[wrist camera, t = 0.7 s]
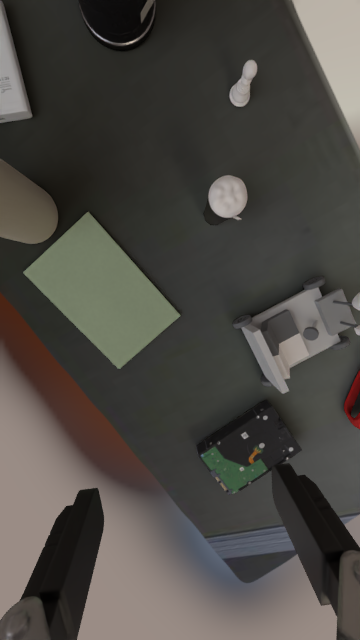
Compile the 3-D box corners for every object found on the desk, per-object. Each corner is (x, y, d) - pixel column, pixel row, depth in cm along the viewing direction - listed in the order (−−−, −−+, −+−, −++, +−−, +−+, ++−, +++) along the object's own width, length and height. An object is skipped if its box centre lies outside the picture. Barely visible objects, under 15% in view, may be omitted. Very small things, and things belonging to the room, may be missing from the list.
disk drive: (264, 396, 42) (194, 445, 43) (271, 404, 39) (196, 457, 40) (294, 439, 44) (226, 486, 44) (303, 450, 41) (231, 499, 42)
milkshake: (205, 239, 37) (220, 226, 27) (195, 203, 36) (206, 175, 26) (234, 230, 37) (259, 213, 27) (224, 193, 36) (247, 162, 26)
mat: (24, 272, 36) (22, 272, 36) (89, 212, 35) (88, 211, 35) (119, 368, 40) (118, 369, 39) (180, 315, 39) (180, 315, 38)
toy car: (385, 265, 29) (414, 347, 31) (330, 268, 39) (355, 330, 41) (251, 336, 30) (288, 412, 32) (229, 322, 39) (259, 381, 41)
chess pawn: (225, 101, 34) (236, 71, 29) (234, 80, 34) (246, 46, 29) (243, 111, 34) (256, 83, 29) (252, 90, 34) (267, 59, 29)
